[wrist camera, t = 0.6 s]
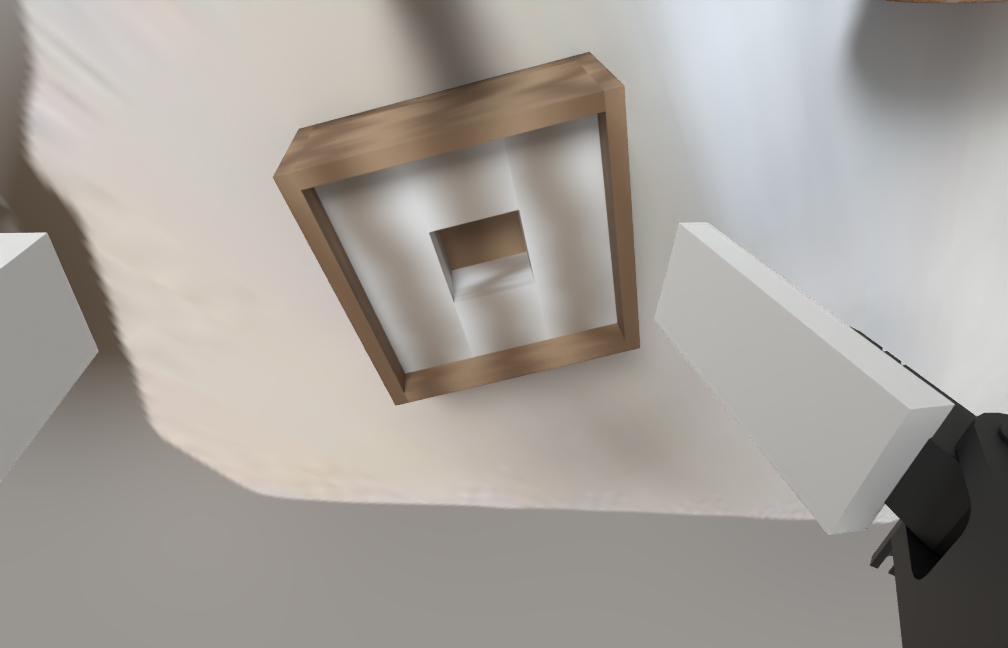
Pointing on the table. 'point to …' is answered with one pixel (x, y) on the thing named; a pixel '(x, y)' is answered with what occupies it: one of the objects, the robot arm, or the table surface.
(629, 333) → the bore box
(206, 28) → the table surface
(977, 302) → the table surface
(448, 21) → the table surface
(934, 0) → the tin
